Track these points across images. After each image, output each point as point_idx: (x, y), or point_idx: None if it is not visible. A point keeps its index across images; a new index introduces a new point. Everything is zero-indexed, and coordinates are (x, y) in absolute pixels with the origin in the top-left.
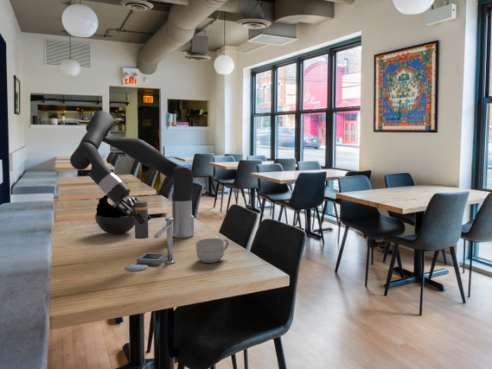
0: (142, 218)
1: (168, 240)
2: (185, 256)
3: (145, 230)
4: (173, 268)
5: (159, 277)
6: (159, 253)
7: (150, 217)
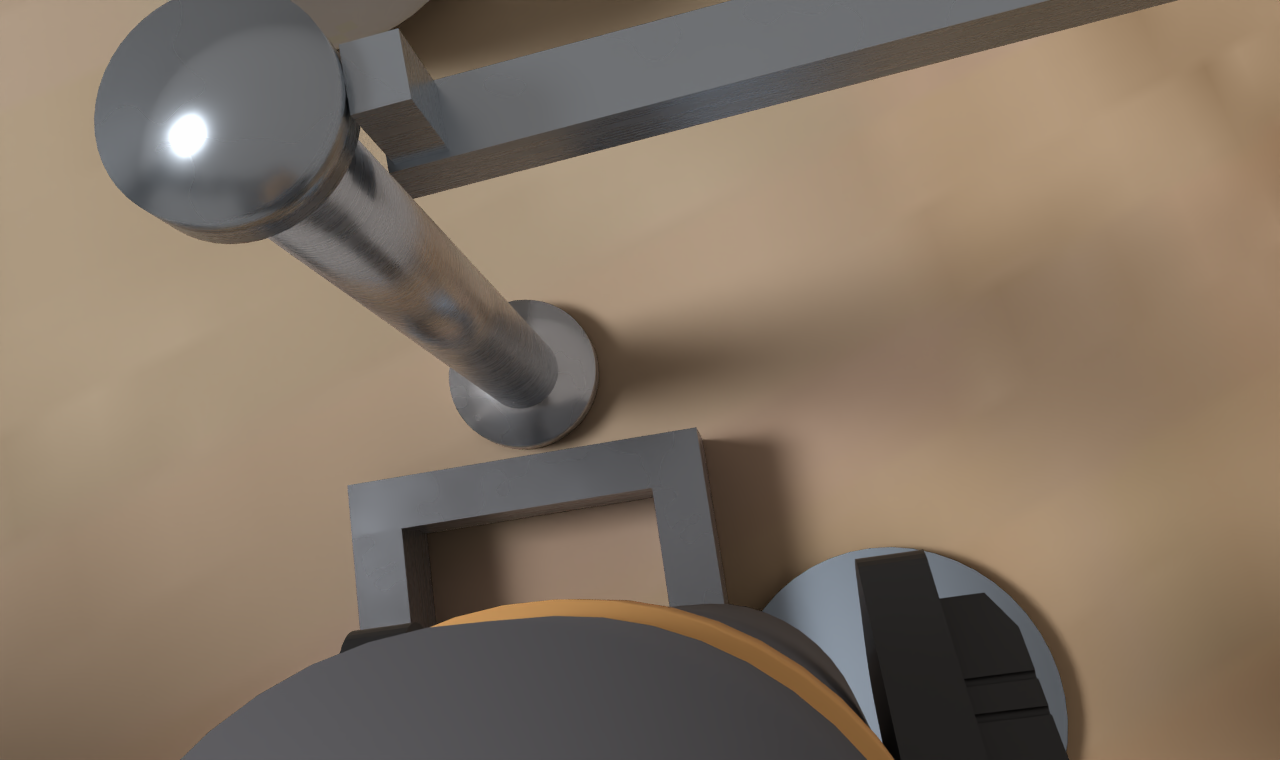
0: (948, 639)
1: (472, 288)
2: (231, 304)
3: (769, 621)
4: (758, 214)
5: (1151, 208)
6: (374, 605)
7: (375, 630)
